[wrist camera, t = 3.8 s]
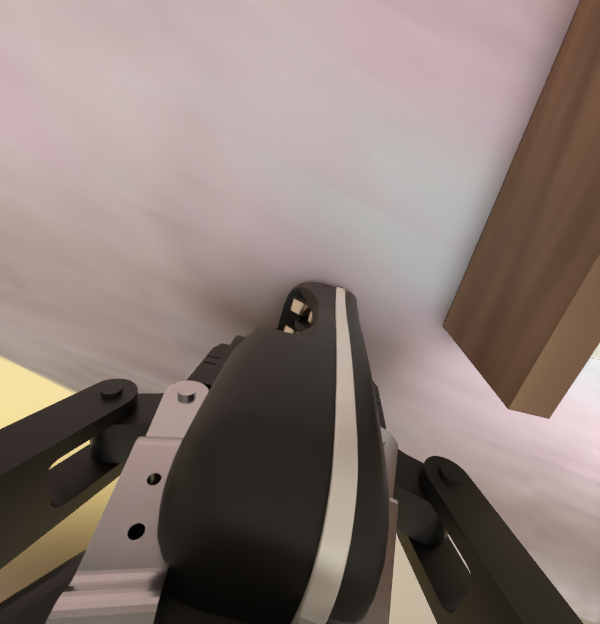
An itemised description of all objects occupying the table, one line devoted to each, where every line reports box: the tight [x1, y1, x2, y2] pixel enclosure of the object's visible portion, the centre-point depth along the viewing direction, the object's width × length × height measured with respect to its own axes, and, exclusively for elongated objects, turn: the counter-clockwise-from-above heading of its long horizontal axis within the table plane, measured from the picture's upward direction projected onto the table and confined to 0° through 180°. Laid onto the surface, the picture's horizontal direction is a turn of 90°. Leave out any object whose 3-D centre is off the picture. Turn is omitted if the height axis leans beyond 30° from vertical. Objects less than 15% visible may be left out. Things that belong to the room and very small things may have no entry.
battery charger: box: [157, 283, 389, 624], centre depth 10 cm, size 7×4×11 cm, turn 164°
